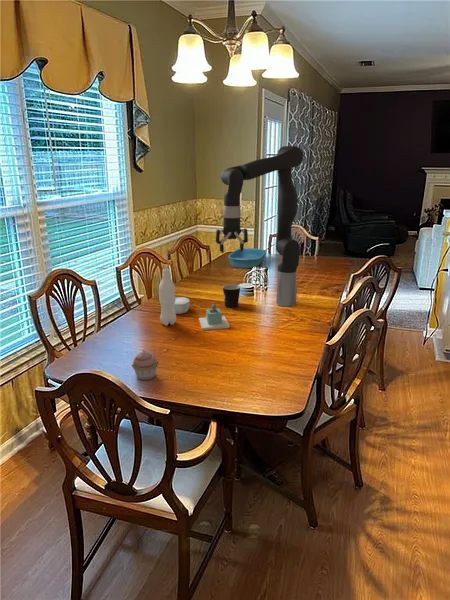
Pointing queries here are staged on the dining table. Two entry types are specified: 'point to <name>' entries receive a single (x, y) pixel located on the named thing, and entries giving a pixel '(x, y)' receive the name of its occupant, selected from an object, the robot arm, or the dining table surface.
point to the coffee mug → (231, 295)
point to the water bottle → (167, 299)
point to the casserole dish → (247, 257)
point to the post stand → (213, 326)
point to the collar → (213, 317)
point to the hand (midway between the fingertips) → (231, 252)
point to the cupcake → (145, 365)
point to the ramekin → (181, 305)
